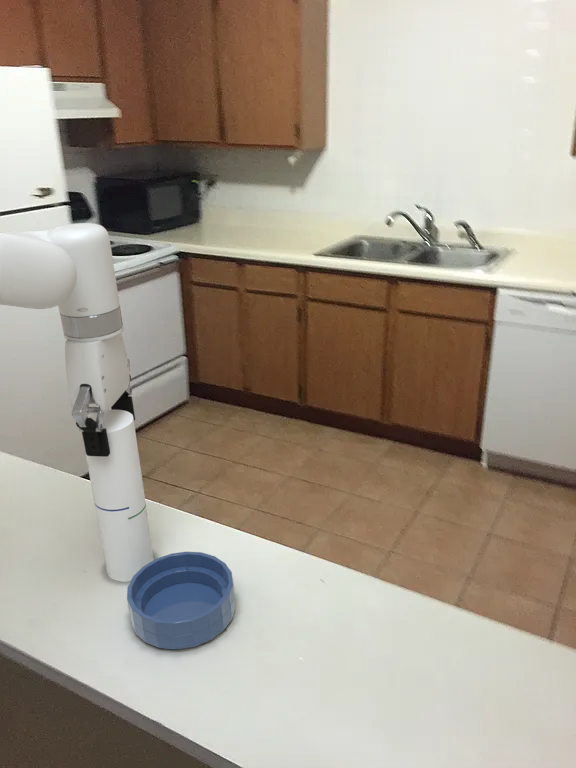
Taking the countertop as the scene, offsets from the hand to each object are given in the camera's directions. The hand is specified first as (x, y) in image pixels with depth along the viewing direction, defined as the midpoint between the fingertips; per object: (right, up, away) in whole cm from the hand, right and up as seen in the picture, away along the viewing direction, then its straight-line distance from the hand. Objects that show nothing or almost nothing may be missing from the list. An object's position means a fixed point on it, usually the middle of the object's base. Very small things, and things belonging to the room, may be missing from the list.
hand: (112, 437), depth 94 cm
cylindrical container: (+1, -21, +9) cm, 23 cm away
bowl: (+10, -24, -1) cm, 26 cm away
